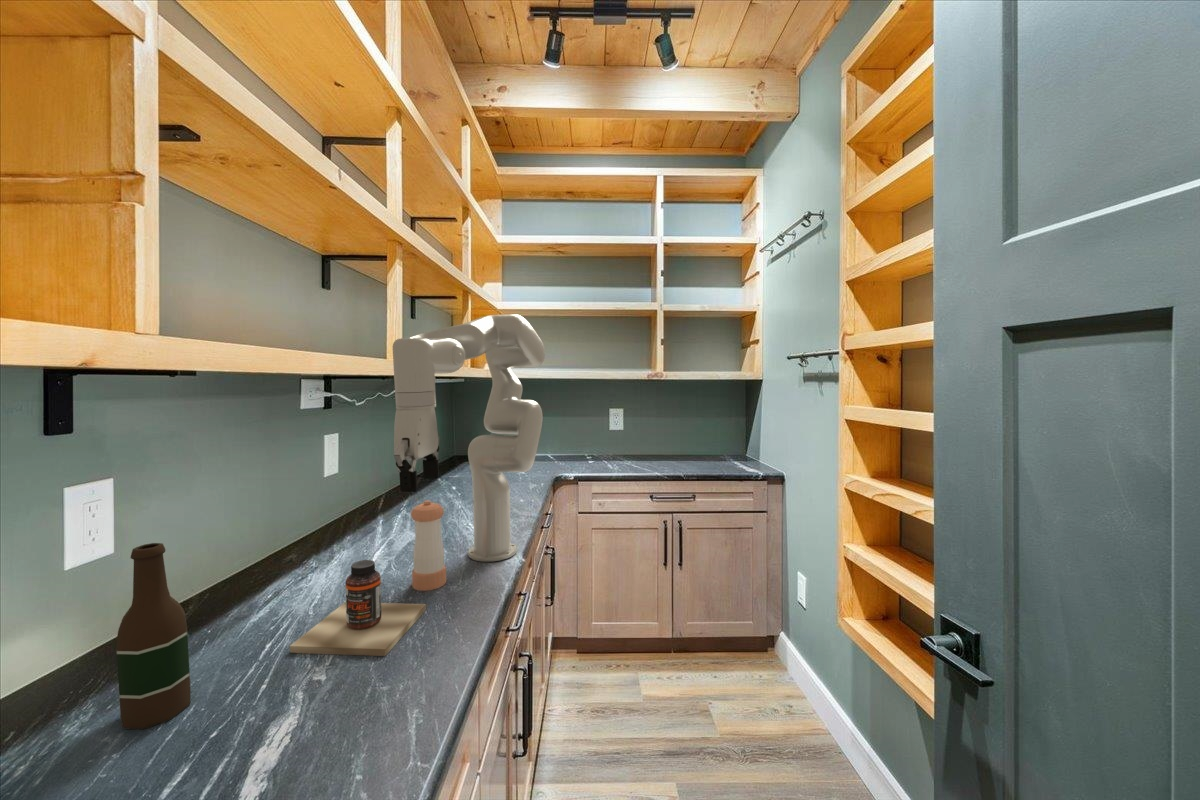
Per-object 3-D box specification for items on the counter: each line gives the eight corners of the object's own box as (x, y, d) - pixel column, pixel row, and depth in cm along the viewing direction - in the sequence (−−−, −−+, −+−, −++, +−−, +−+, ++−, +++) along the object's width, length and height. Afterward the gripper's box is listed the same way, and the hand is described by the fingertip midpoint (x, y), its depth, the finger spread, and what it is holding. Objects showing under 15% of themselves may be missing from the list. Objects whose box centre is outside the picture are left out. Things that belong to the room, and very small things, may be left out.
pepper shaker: (446, 588, 107) (444, 503, 106) (411, 592, 105) (408, 506, 104) (446, 575, 114) (444, 495, 113) (413, 579, 112) (411, 498, 111)
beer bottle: (178, 723, 66) (168, 552, 65) (105, 738, 63) (93, 559, 62) (203, 688, 73) (194, 534, 72) (138, 700, 71) (128, 540, 69)
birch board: (345, 607, 99) (345, 601, 99) (426, 609, 97) (425, 604, 97) (289, 652, 83) (289, 645, 83) (385, 656, 82) (385, 649, 81)
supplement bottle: (343, 633, 87) (340, 571, 86) (350, 617, 92) (348, 559, 92) (379, 628, 88) (377, 567, 88) (384, 612, 94) (382, 555, 93)
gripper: (418, 396, 105) (422, 473, 106) (373, 405, 88) (379, 497, 89) (451, 396, 104) (455, 474, 106) (413, 405, 87) (418, 497, 89)
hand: (420, 484), depth 97 cm, fingers open, 9 cm apart
